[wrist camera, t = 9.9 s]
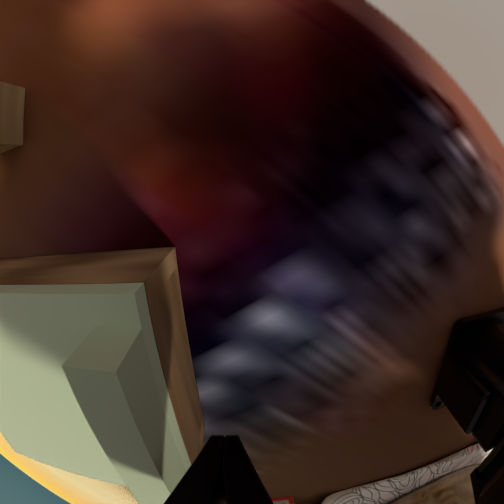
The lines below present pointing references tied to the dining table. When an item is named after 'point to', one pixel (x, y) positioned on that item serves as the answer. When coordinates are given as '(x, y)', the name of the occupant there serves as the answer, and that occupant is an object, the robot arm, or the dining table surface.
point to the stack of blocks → (283, 500)
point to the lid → (88, 386)
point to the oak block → (11, 116)
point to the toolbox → (160, 309)
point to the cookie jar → (421, 483)
